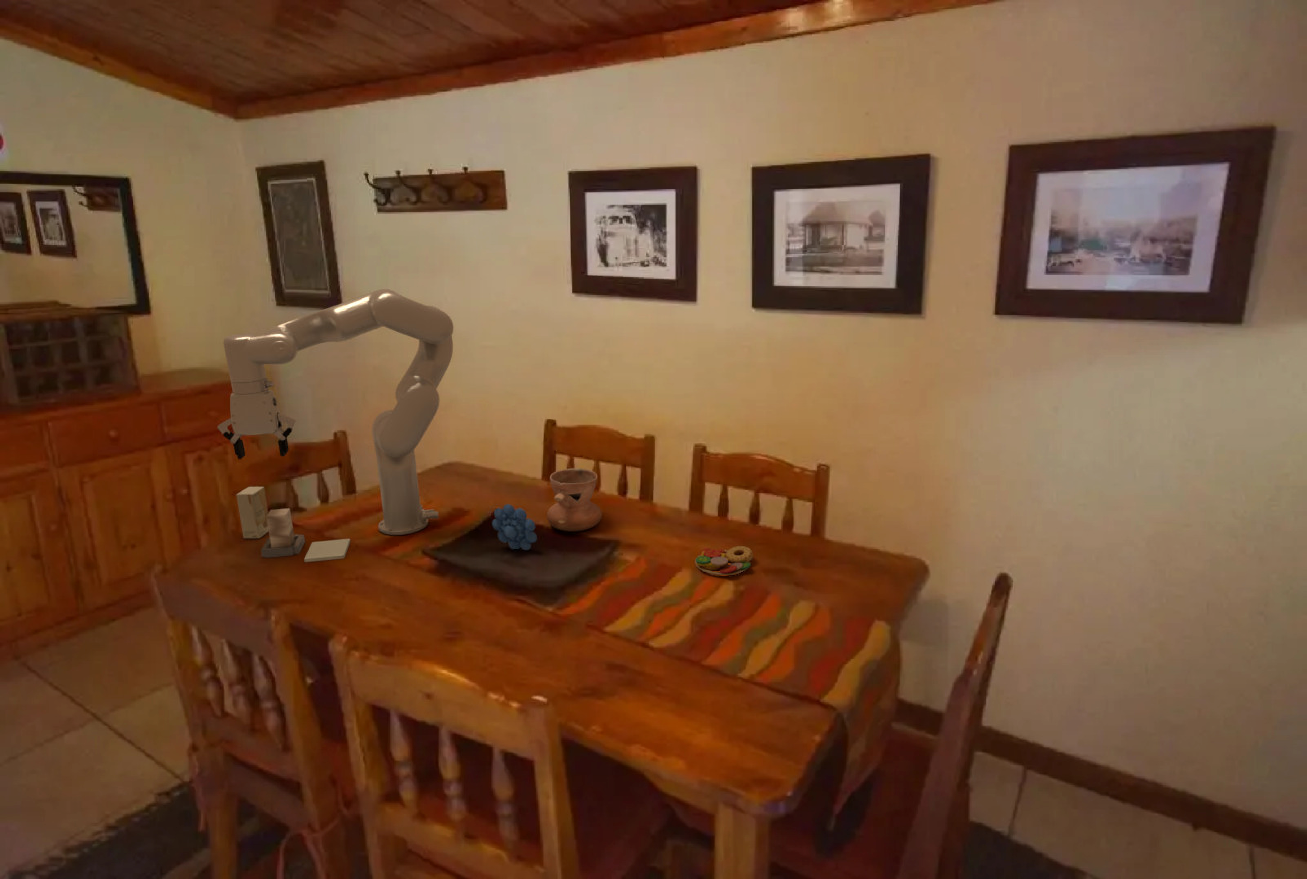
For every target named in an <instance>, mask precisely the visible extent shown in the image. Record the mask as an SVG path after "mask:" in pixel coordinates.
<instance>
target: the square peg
mask: <svg viewBox="0 0 1307 879" xmlns="http://www.w3.org/2000/svg"><path fill="white" fill-rule="evenodd" d="M266 518H267V524H268V530H269V531H268V536H269V538H270V542H271V548H276V547H286V546H293V545H294V544H295V538H294V535H295V532H294V527H293V521H292V520H293V519H292V514H291V508H280V509H279V508H278V509H270V510H269V511H268V515H267V516H266Z"/></svg>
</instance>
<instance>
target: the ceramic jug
mask: <svg viewBox="0 0 1307 879" xmlns="http://www.w3.org/2000/svg"><path fill="white" fill-rule="evenodd" d="M597 480H598V474H597V473H596V472H595V471H592V470H590V469H586V468H574V467H573V468H564V469H560V470H557V471H554V472H553V473H551V474H550V476H549V482H550V486H551V489H552V491H553V494H554V500H555V501H557V502H556V503H554V504H553V505H552V506H550V507H549V508H548V510H547V513H546V519H547V521H548V523H549V525H550V526H552V527H553V528H555V529H558V530H560V531H563V532H581V531H586V530H589V529H591V528H594V527H595V526H596V525H597V524H599V523H600V521H601V519H602V517H603V516H602V515H603V512H602V510H601V508H600V507H599V506H598V505H597V504H595V503H594V502H592V501H591V499H592V496H593V494H594V492H595V489H596V486H597V482H598V481H597Z"/></svg>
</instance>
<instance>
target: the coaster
mask: <svg viewBox="0 0 1307 879" xmlns="http://www.w3.org/2000/svg"><path fill="white" fill-rule="evenodd" d="M350 543H351V539H350V538H342V539H332V540H323V541H312V542H311V544H310V545H309V549H308V550H307V552H306V554H305V557H304V558H303V559H304V560H303V561H304V563H310V562H321V561H328V560H329V561H331V560H340V559H345V557H346V554H347V553H348V552H347V551H348V549H349V547H350Z"/></svg>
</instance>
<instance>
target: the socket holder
mask: <svg viewBox="0 0 1307 879" xmlns="http://www.w3.org/2000/svg"><path fill="white" fill-rule="evenodd" d="M294 538H295V544H294V545H293V546H286V547H276V548H271V542H270V537H268V538H267V539H266V541H265V543H264V544H263V546H262V547H261V549H260V552H261V557H262V558H267V559H269V558H270V559H271V558H281V557H288V556H294V555H299V554H300V553H301V551H302V549H303V547H304V545H305V543H306V539H305V535H304V534H300V533H299V534H298V533H297V534H294Z"/></svg>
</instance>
